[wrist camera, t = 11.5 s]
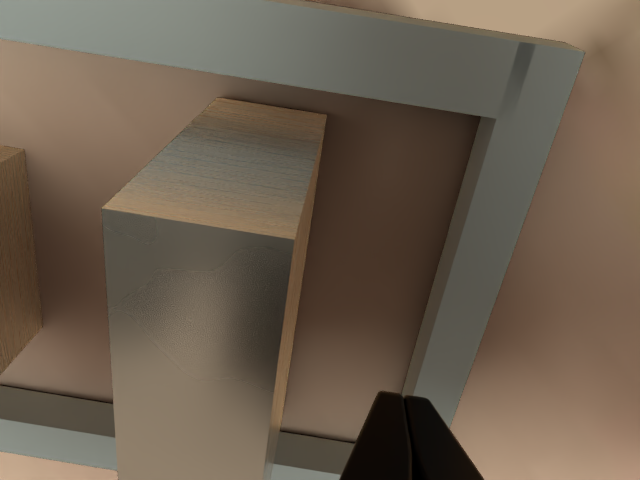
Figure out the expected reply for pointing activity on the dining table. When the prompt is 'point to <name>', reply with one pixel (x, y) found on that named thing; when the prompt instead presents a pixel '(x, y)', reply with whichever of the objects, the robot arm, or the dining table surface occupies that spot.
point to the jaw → (209, 292)
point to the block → (16, 259)
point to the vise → (351, 79)
